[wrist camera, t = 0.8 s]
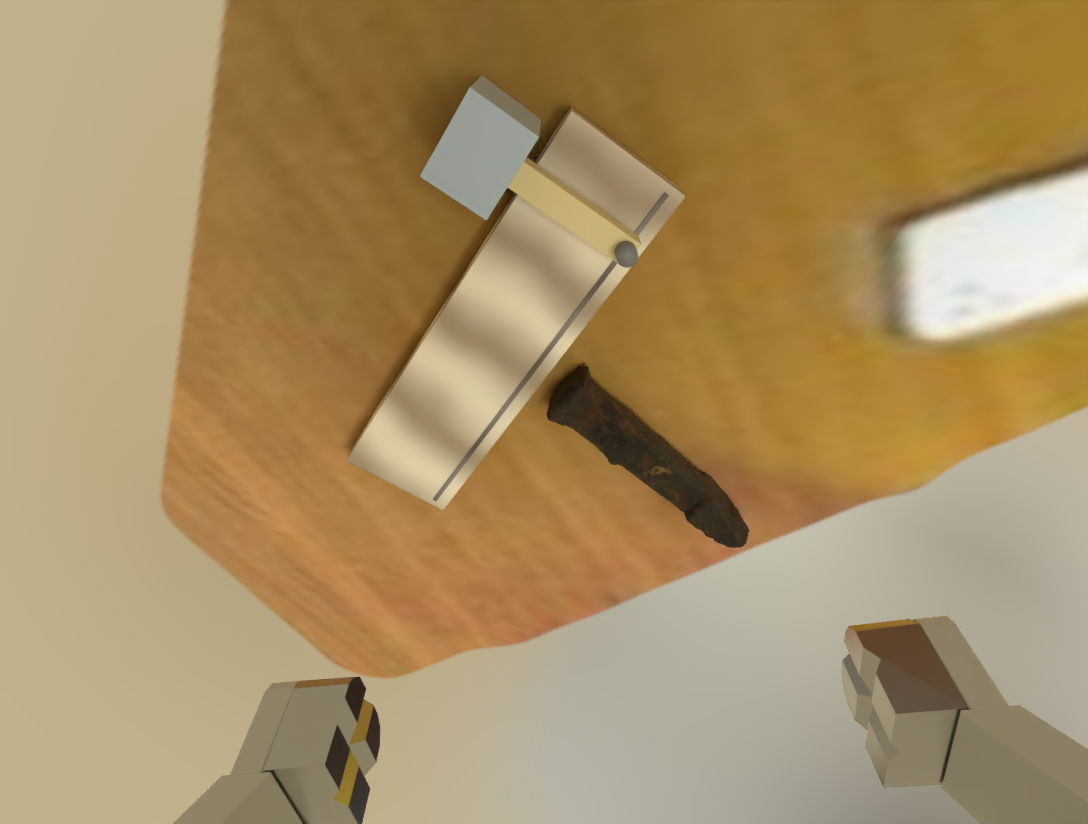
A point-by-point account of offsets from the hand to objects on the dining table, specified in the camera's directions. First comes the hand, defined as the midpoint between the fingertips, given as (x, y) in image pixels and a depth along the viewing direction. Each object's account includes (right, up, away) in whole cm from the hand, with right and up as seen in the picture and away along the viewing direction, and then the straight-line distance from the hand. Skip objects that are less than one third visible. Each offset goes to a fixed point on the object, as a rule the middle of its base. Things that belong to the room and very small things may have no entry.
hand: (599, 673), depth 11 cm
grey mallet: (-1, +18, +29) cm, 34 cm away
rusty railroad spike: (+8, +2, +39) cm, 40 cm away
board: (-4, +10, +34) cm, 36 cm away
